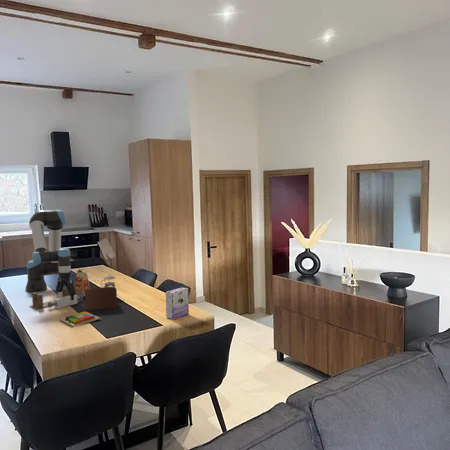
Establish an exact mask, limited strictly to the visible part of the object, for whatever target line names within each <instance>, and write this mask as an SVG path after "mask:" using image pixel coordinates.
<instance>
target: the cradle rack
mask: <svg viewBox="0 0 450 450" xmlns="http://www.w3.org/2000/svg"><path fill="white" fill-rule="evenodd" d="M61 292H62V297H65V296H69V291H68V289H67V288H63V289H62V291H61ZM43 297H44V295H43V294H42V293H38V292H31V300H32V305H29V308H31V309H35V310H40V309H45V308H49V307H48V302H51V303H53V302H54V300H49V301H47V302H46V301H45V302H44V298H43ZM52 307H55V306H54V305H53V306H52Z"/></svg>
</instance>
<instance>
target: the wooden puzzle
mask: <svg viewBox="0 0 450 450" xmlns="http://www.w3.org/2000/svg"><path fill="white" fill-rule="evenodd" d="M58 320H59V321H60V320H61V321H60V322H62V321H63V323H65V324H67V325H68V326H69V327H72V326H75V327H78V326H77V325H79V326H82V325H81V324H83V325H86V324H89V323H92V322H95V321H97V320H98V321H99V320H100V321H101V320H102V318H101V317H99V316H97V315H94V314H93V313H90V312H88V311H86V310H85V311H82V312H78V313H75V314H73V315H68V316H65V318H59V319H58ZM67 321H68V322H67ZM71 323H72V324H74V325H72V324H71ZM85 323H86V324H85Z"/></svg>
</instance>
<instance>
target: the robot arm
mask: <svg viewBox="0 0 450 450" xmlns="http://www.w3.org/2000/svg"><path fill="white" fill-rule="evenodd" d="M28 224H29V229H30V230H31V235H32V240H33V241H32V242H33V246H34V247H33V249H34V251H33V252H32V254H31V255H32V257H31V258H32V260H29V261H28V262H27V263H26V269H27V282H26V285H25V291H26V292H27V293H28V292H29V293H35V292H36V293H38V292H44V291H47V289H48V284H47V283H46V280H45V276H52V275H58V278H57V284H56V287H55V291H56V293H57V298H61V297H62V292H61V291H62V289H64V288H66V289H68V296H69V300H70V305H69V306H73V305H75V304H74V295H75V294H76V292H75V289H74V288H75V284H74V282H73V279H70V278H71V277H72V272H71V271H72V268H71V251H70V248H68V247H67V248H63V247H62V246H61V245H62V230H63V229H64V226H66V224H67V222H66V217H65V212H64V211H63V210H62V209H49V210H48V209H47V210H43V209H42V210H38V211H36V212H35V213H33V215H31V217H30V220H29V223H28ZM44 227H46V229H47V230H48V249H47V242H46V238H45V231H44Z"/></svg>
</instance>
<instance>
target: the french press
mask: <svg viewBox="0 0 450 450" xmlns="http://www.w3.org/2000/svg"><path fill="white" fill-rule="evenodd" d="M110 264H111V262H110V261H109V262H107V265H110ZM114 279H116V276H114V275H110V274H109V275H106V276H104V277H103V279H102V280H101V281H100V283H99V284H100V286H102V283H103V282H104V285H103V287H112V288H116V284H115V283H116V282H113V281H110V280H114ZM106 280H109V282H106Z"/></svg>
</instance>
